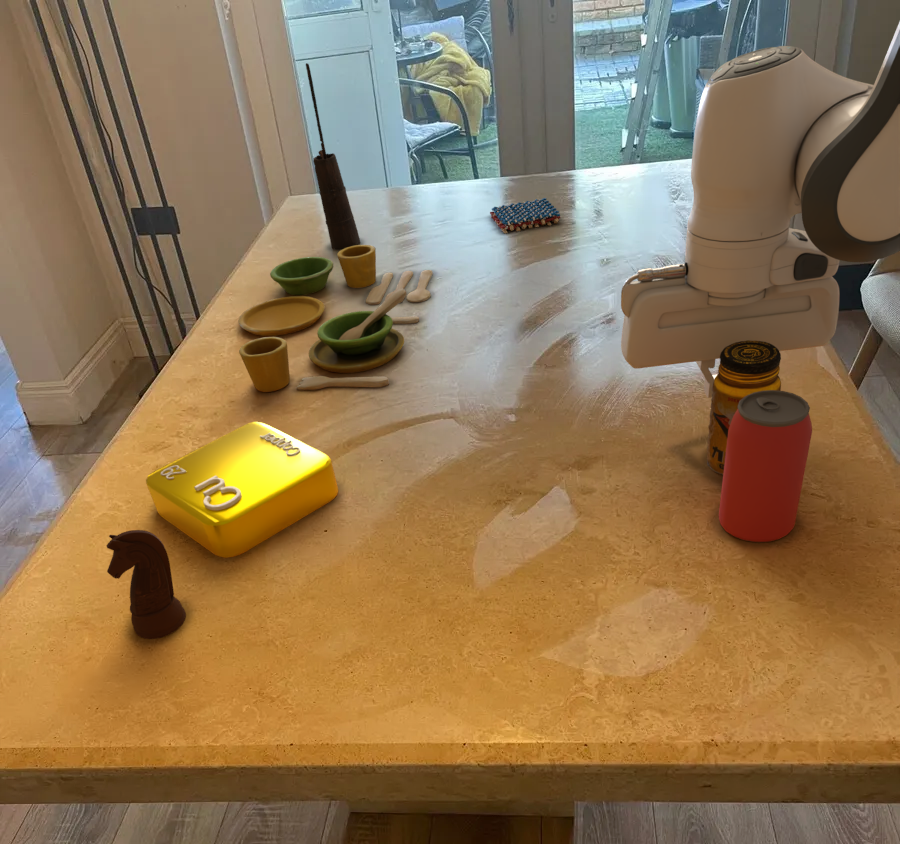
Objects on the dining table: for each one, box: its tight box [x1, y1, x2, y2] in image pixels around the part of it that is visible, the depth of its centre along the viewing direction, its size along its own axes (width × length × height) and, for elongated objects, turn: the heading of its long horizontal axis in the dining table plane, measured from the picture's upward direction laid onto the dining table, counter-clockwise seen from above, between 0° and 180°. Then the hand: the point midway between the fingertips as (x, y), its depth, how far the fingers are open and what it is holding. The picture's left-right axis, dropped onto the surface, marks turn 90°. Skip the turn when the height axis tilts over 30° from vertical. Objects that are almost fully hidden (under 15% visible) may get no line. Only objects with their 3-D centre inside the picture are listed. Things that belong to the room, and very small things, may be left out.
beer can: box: [718, 390, 813, 543], centre depth 73 cm, size 7×7×12 cm
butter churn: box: [305, 62, 361, 251], centre depth 141 cm, size 9×10×28 cm
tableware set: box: [237, 244, 434, 393], centre depth 120 cm, size 41×28×6 cm
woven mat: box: [489, 197, 561, 234], centre depth 147 cm, size 10×11×2 cm
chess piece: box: [106, 529, 187, 640], centre depth 73 cm, size 5×5×10 cm
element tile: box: [145, 421, 339, 559], centre depth 88 cm, size 15×15×5 cm
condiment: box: [706, 340, 782, 476], centre depth 81 cm, size 7×8×12 cm
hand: (719, 393), depth 87 cm, fingers closed
